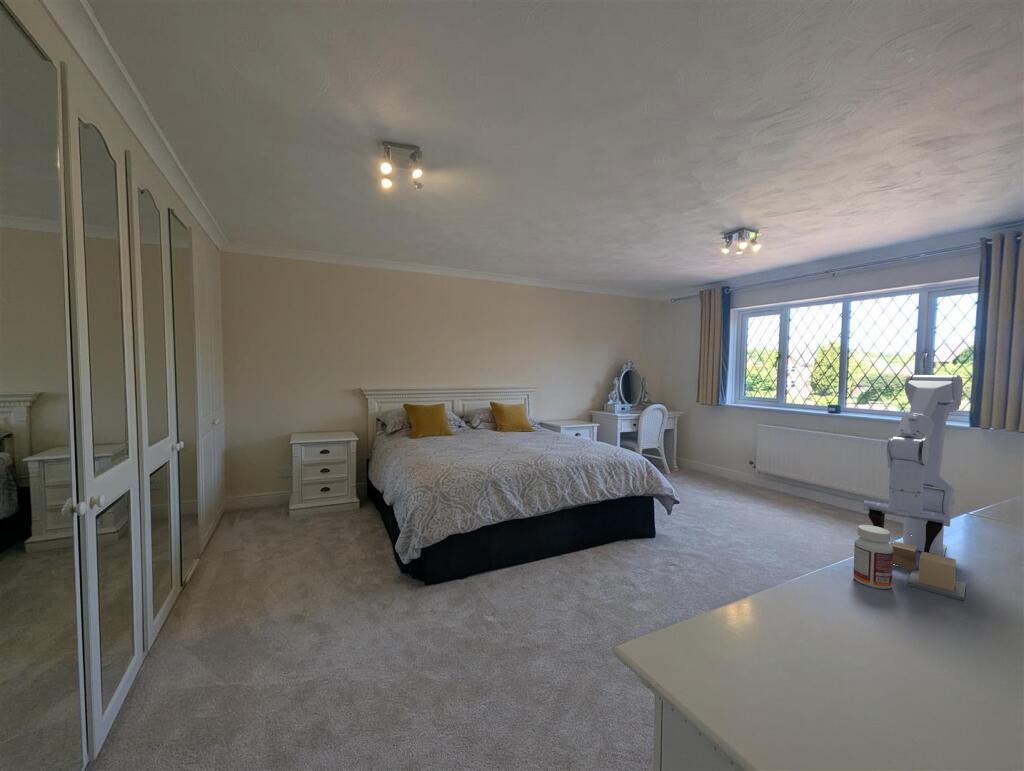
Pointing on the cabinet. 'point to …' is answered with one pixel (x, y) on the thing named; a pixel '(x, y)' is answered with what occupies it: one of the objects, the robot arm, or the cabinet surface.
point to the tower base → (936, 589)
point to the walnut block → (904, 555)
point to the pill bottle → (873, 557)
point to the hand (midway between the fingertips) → (903, 548)
